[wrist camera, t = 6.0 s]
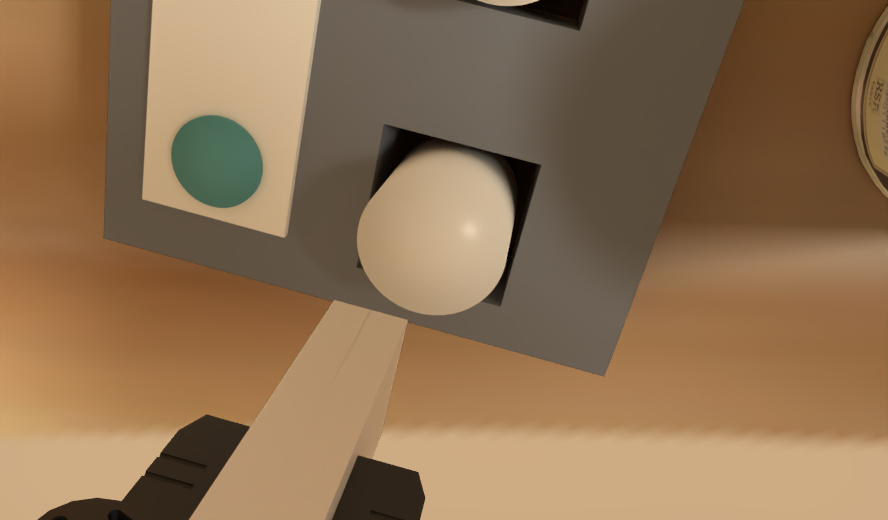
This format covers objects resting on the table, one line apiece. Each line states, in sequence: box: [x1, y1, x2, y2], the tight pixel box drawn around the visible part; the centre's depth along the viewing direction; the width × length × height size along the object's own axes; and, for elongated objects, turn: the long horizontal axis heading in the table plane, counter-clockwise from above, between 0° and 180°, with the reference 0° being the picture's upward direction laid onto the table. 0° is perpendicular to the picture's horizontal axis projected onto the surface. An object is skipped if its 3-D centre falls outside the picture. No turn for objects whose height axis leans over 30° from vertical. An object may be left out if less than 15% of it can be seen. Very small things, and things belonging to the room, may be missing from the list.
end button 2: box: [357, 137, 518, 315], centre depth 23 cm, size 4×4×5 cm
